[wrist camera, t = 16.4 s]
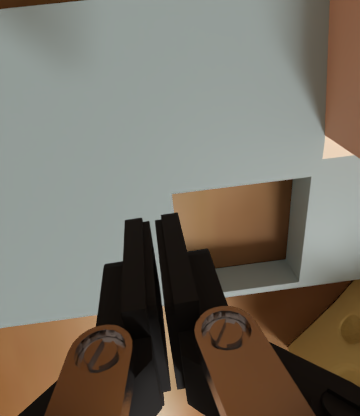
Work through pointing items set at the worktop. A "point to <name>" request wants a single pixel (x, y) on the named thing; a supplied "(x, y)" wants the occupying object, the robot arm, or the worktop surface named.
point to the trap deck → (162, 140)
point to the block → (343, 75)
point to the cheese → (335, 337)
